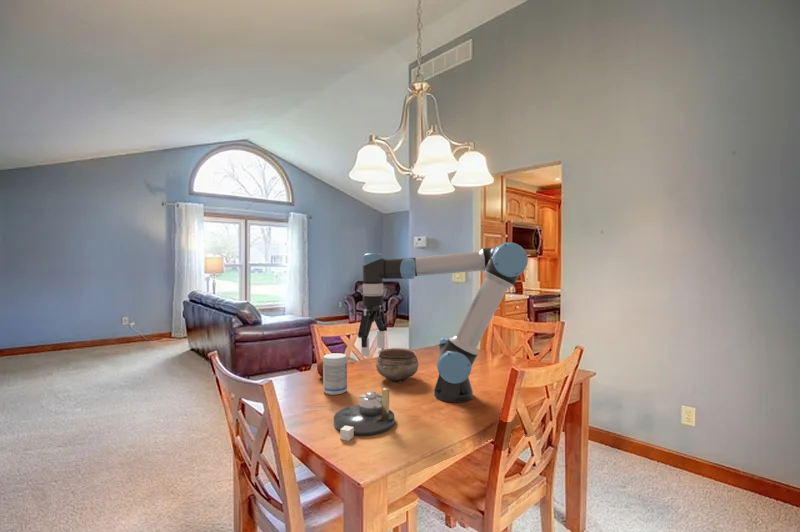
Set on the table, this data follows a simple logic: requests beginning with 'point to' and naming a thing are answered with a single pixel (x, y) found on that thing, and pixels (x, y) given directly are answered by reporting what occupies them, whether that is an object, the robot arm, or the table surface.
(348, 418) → the turntable
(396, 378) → the cooking pot
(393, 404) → the table surface
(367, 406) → the cover
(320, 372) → the fruit
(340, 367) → the supplement tub
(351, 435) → the white cube
